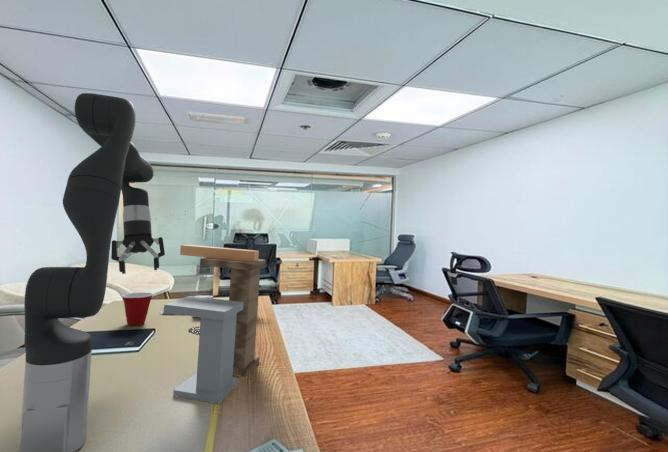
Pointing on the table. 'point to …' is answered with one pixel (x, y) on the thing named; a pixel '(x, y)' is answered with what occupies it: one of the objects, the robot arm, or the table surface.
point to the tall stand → (246, 291)
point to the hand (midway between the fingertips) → (140, 271)
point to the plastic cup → (136, 307)
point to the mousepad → (194, 330)
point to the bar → (219, 253)
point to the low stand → (210, 347)
